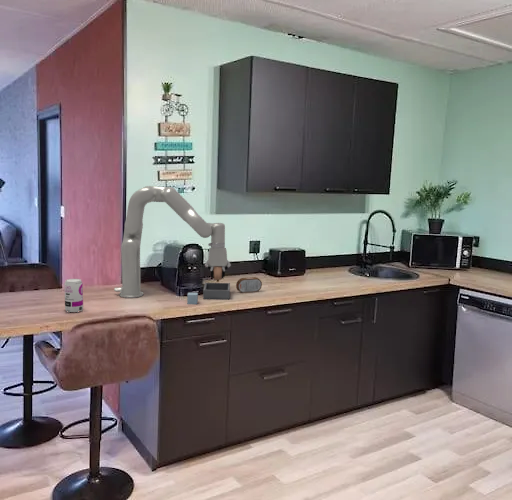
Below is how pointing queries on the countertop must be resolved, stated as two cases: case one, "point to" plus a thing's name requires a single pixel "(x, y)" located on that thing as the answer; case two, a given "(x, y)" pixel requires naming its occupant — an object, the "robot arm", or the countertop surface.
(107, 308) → the countertop surface
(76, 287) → the supplement can
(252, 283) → the tin
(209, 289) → the tote
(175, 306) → the countertop surface
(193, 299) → the cube
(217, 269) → the cylinder
